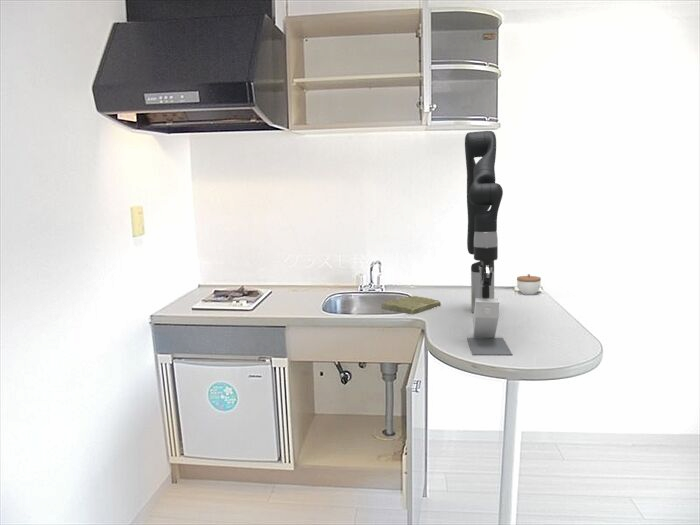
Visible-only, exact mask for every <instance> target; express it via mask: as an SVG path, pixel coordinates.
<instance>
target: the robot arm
mask: <svg viewBox="0 0 700 525" xmlns="http://www.w3.org/2000/svg"><path fill="white" fill-rule="evenodd" d="M464 153H465V154H464V155H465V163H466V164H465V166H466V168H465V169H466V209H467V233H466V234H467V236H466V237H467V238H466V242H467V244H466V246H467V247H466V248H467V251H468V252H467V253H468V254H470V255H473V260H475V261H476V262H474V263H472V264H471V266H470V276H471V277H470V280H471V282H470V283H471V284H470V285H471V286H470V288H471V290H470V292H471V300H470V302H471V304H470V305H471V307H470V308H471V311H470V312H471V313H473V314H474V307H475V298H488V299H495V261H497V260H498V259H499V258H498V254H499V252H498V246H499V244H498V238H499V237H498V214H499V209H500V205H501V203H502V202H501V201H502V198H503V195H504V191H503V187H502V185H501V184H499V183H498V182H497V183H496V172H495V165H496V157H497V137H496V133H495V132H494V131H492V130H482V131H480V130H479V131H471V132H470V131H469V132H467V133H466V134H465V137H464ZM475 158H480V159H479V160H478V161H477V162H476V160H475Z"/></svg>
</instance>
